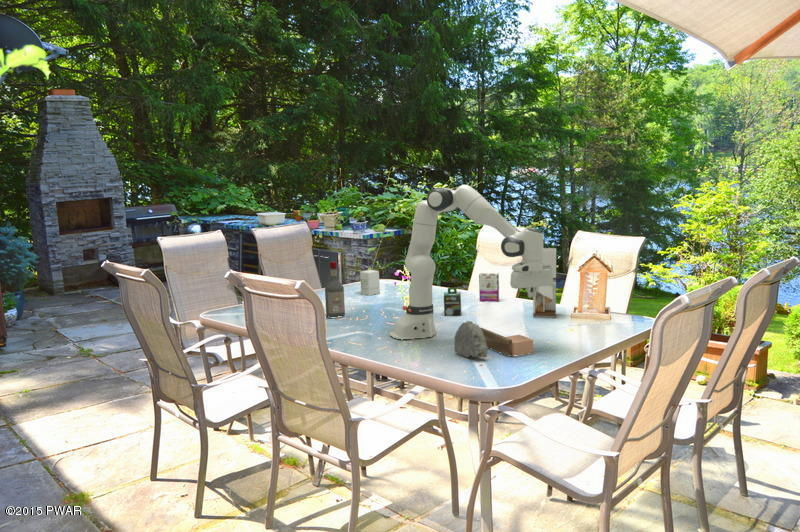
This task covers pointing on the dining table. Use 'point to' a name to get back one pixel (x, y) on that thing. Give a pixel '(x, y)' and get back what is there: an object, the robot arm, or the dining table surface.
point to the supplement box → (370, 282)
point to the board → (498, 342)
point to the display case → (546, 290)
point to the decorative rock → (470, 341)
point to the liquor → (334, 294)
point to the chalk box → (452, 303)
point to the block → (521, 345)
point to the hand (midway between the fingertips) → (531, 297)
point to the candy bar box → (489, 286)
